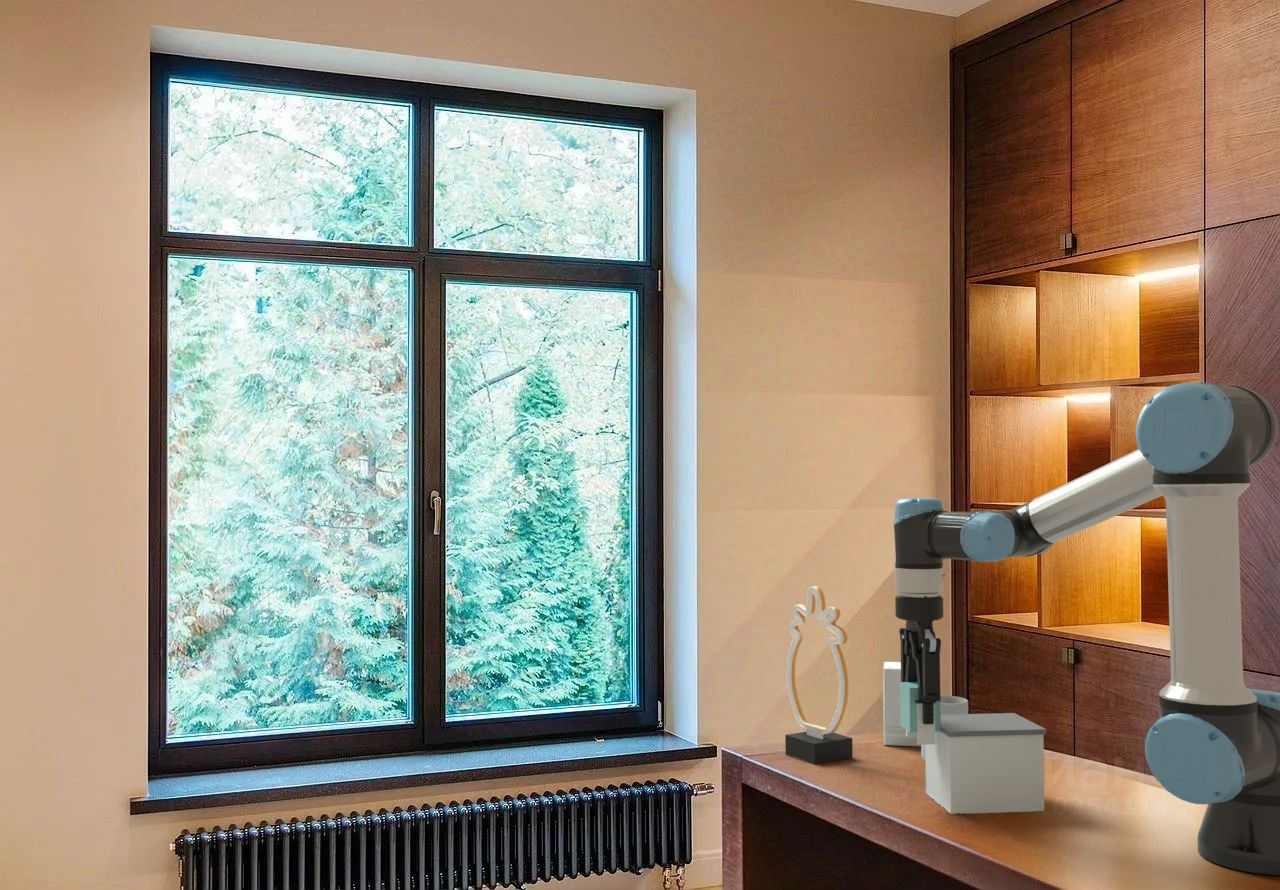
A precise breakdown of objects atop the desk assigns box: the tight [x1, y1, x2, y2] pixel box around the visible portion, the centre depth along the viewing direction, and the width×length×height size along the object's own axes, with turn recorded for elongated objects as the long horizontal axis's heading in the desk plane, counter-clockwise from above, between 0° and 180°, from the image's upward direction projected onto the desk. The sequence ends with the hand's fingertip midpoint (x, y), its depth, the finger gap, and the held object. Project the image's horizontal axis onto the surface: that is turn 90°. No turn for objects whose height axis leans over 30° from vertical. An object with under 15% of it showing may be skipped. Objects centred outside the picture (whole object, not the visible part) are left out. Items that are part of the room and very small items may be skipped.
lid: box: [900, 682, 1047, 737], centre depth 195 cm, size 13×21×8 cm, turn 95°
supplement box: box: [882, 661, 921, 748], centre depth 238 cm, size 9×9×15 cm
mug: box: [920, 694, 969, 762], centre depth 225 cm, size 12×8×11 cm
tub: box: [925, 732, 1045, 815], centre depth 195 cm, size 12×15×12 cm
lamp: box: [785, 585, 854, 765], centre depth 227 cm, size 17×9×32 cm, turn 30°
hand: (920, 739), depth 194 cm, fingers closed on lid, 5 cm apart
